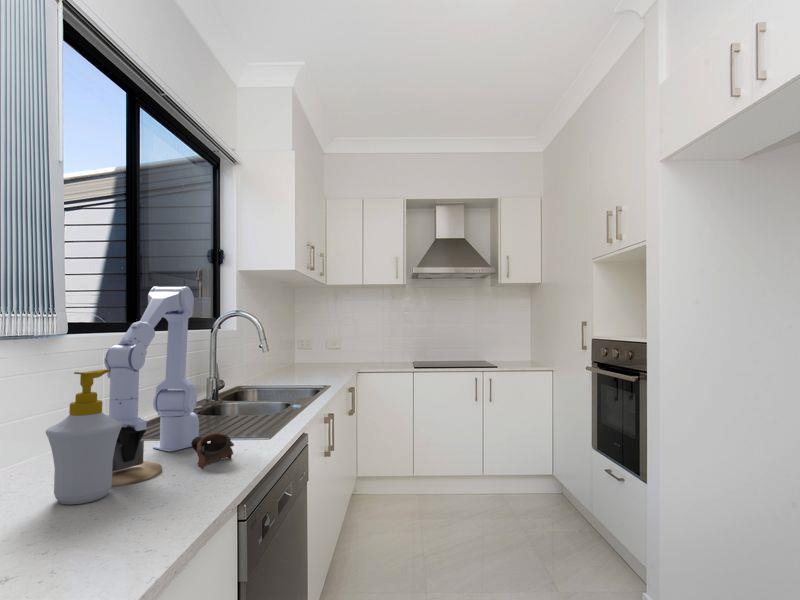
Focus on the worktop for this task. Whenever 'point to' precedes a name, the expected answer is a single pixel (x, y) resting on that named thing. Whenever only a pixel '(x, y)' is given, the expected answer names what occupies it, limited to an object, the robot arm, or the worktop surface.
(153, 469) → the round copper disc
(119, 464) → the dark grey rounded block
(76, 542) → the worktop surface
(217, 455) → the dark brown lumpy piece
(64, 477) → the soap bottle
